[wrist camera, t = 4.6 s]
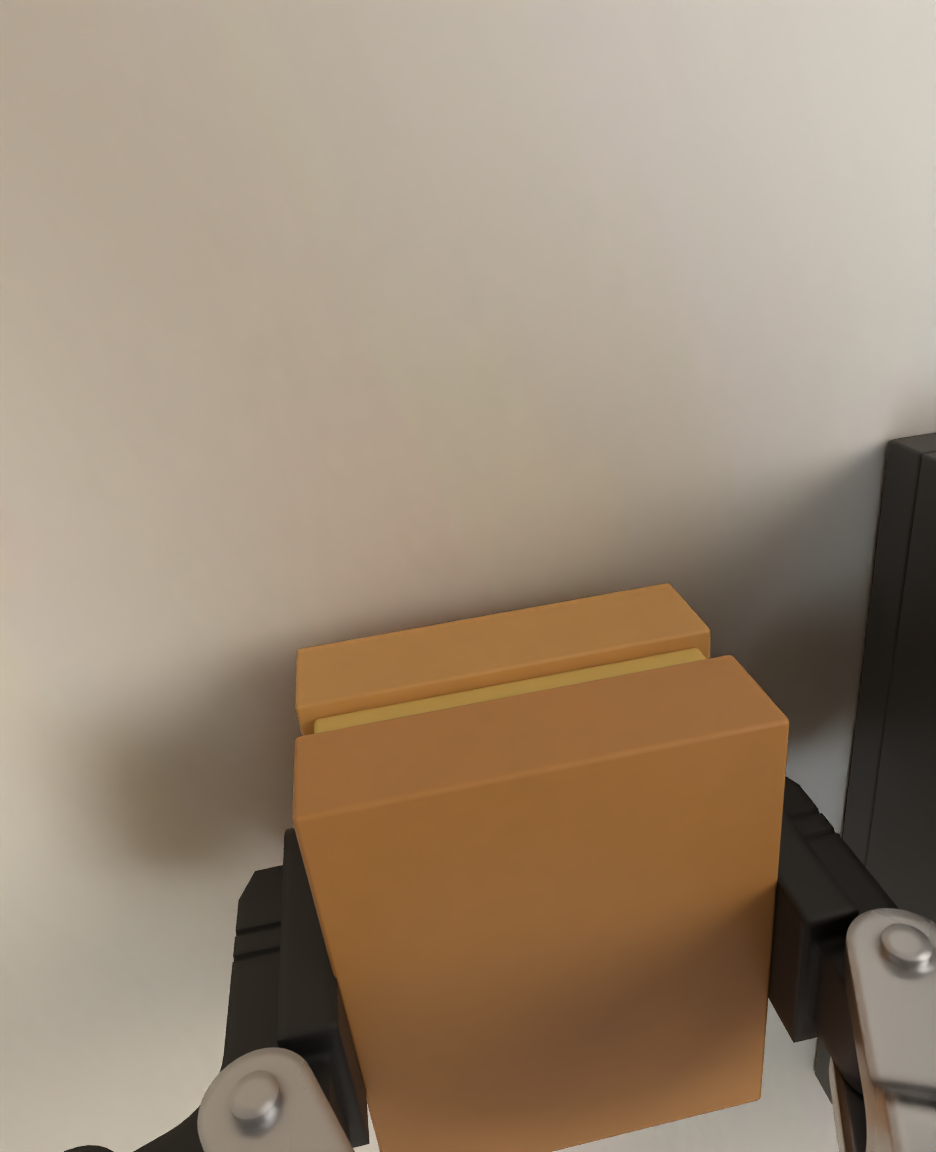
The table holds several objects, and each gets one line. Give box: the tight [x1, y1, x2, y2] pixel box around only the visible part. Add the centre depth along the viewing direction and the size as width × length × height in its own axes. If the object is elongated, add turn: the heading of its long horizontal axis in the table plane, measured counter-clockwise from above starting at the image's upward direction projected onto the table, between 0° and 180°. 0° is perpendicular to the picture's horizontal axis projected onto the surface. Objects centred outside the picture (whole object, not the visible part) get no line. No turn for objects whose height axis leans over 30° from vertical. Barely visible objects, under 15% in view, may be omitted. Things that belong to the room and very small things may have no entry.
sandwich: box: [293, 583, 789, 1152], centre depth 12 cm, size 7×6×4 cm
